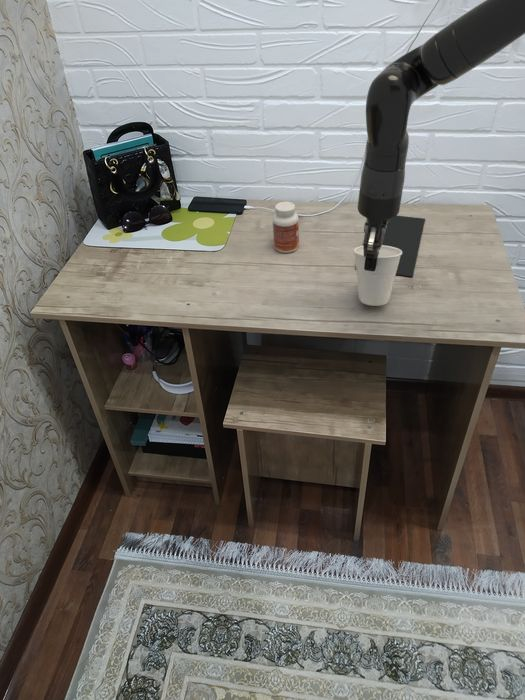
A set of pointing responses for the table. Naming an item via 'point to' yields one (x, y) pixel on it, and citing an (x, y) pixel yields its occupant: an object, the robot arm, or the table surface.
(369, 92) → the robot arm
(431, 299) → the table surface
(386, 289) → the cup
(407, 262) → the mat
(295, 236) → the pill bottle
